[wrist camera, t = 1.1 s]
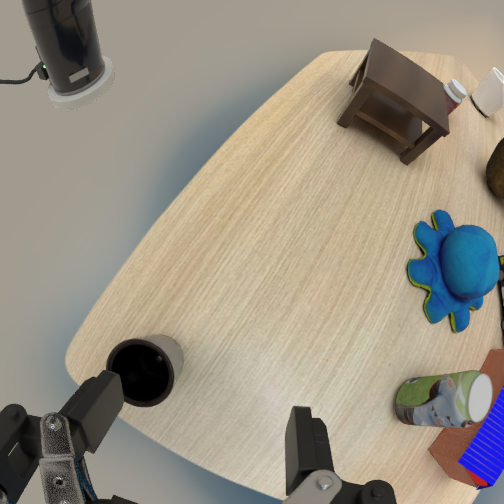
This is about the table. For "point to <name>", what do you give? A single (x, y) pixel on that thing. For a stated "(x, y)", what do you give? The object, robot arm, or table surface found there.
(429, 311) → the plush toy
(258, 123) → the table surface
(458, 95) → the pill bottle
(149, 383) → the planter
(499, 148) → the sculpture
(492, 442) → the house
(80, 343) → the table surface
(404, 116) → the plant stand
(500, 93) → the cup
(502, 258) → the toy car
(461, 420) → the beverage can
